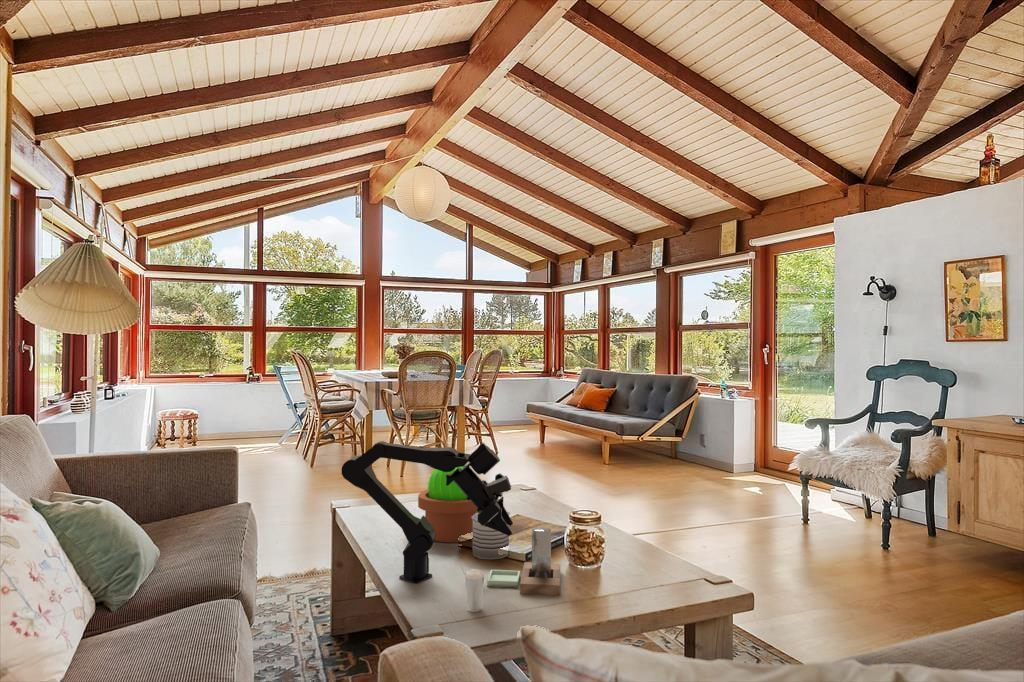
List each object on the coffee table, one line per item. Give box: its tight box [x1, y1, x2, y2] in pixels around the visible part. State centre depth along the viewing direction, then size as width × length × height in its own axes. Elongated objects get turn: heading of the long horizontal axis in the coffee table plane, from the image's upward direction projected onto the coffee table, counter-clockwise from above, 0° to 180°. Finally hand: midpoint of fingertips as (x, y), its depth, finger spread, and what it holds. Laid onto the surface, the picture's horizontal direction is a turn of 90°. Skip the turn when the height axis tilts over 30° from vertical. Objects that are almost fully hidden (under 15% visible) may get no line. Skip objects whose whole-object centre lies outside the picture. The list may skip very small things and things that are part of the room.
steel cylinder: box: [531, 526, 552, 578], centre depth 167 cm, size 5×5×14 cm
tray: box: [486, 569, 521, 588], centre depth 168 cm, size 8×8×2 cm
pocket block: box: [519, 561, 561, 596], centre depth 167 cm, size 10×16×2 cm, turn 175°
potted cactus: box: [417, 463, 479, 544], centre depth 209 cm, size 22×22×25 cm
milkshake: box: [461, 568, 485, 613], centre depth 150 cm, size 4×5×10 cm
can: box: [471, 511, 511, 561], centre depth 191 cm, size 11×11×12 cm
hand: (511, 529), depth 170 cm, fingers open, 9 cm apart
